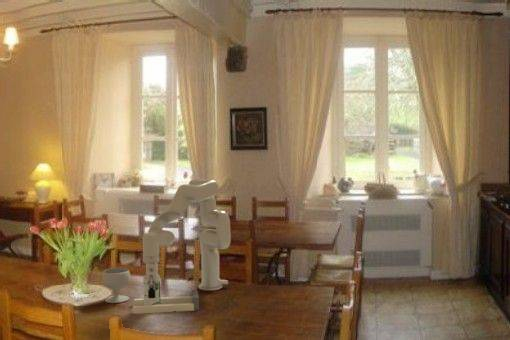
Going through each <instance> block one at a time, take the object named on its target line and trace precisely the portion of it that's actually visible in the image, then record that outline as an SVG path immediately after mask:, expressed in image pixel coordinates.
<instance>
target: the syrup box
mask: <svg viewBox="0 0 510 340" xmlns="http://www.w3.org/2000/svg"><path fill="white" fill-rule="evenodd" d="M142 283H143V284H142V285H143V287H142V289H143V290H142V291H143V298H144V305H160V304H161V298H162V297H161V275H160V274H158V283H157V284H156V283H155V298H148V290H149V283H150V282H149V283H148V284H147V277H146V274H145V275H143V276H142ZM153 283H154V282H153Z"/></svg>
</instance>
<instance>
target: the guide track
mask: <svg viewBox="0 0 510 340" xmlns="http://www.w3.org/2000/svg"><path fill="white" fill-rule="evenodd" d="M191 293H192V294H191V295H190V296H187V295H184V296H168V297H165V296H164V297H160V298H161V304H160V305H144V297H143V298H134V299H133V306H132V314H137V315H138V314H152V313H153V314H154V313H155V314H156V313H171V312H172V313H173V311H176V312H189V311H199V310H200V296H199V293H198V289H192V291H191Z"/></svg>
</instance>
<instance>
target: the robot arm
mask: <svg viewBox="0 0 510 340" xmlns="http://www.w3.org/2000/svg"><path fill="white" fill-rule="evenodd" d="M219 190H220V186H219V184H218V182H217V181H216V180H213V179H203V178H201V179H200V178H194V179H191V180H190V181H189V182H188V184H186V183H185V184H181V185H179V186H178V188H177V190H176V191H175V194H174V196H173V197H172V199H171V201H170V203H169V204H168V207H167V209H165V210H164V211H162V212H161V213H160V214H159V215H157V216H156V217H155V218H154V220H153V221H152V223H151V224H150V227H149V229H148V231H147V232H145V233H144V234H143V235H142V262H143V264H145V275H146V277H147V284H148V283H149V282H150V283H149V290H148V298H155V283H156V284H157V283H158V275H159V273H158V272H159V271H158V270H159V269H158V263H160V247H162V248H163V247H169V246H171V245H172V244H173V243H174V242H175V239H176V238H175V237H176V235H175V234H174V233H173V232H172V231H169V230H164V228H165V227H166V226H167V225H169V223H172V222H175V221H177V220H179V219H181V218H183V217H184V215H185V214H186V212H187V211H186V210H187V209H188V207H189V205H190V203H199V207H200V208H199V211H200V222H201V225H202V226H203V227H206V229H203V230H201V232H200V233H199V236H198V238H199V245H200V253H201V258H200V259H201V260H200V261H201V265H200V266H201V283H200V284H199V285H198V289H199V290H202V291H207V292H208V291H209V292H210V291H218V290H221V289H222V288H223V285H228V284H229V280H226V279H221V278H220V252H219V249H220V250H226V249H228V248H229V247H230V245H231V240H232V239H231V237H232V234H231V220H230V216H229V214H228V213H227V212H226V211H224V210H218V209H217V202H216V198H215V197H216V195H217V194H218V193H219ZM153 282H154V283H153Z"/></svg>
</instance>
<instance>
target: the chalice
mask: <svg viewBox="0 0 510 340" xmlns="http://www.w3.org/2000/svg"><path fill="white" fill-rule="evenodd" d="M131 278H132V277H131V273H130V270H129V269H128V268H126V267H110V268H107V269H105V270H104V271H103V272H102V277H101V283H102V284H103V286H105V287H107V288H108V289H111V290H112V291H113V292H114V295H111V296H110V295H109V296H108V297H109V298H107V297H106V298H107V299H106V300H105V301H104V302H105V303H108V304H119V303H125V302H128V301H129V300H130V297H129V296H127V295H123V294H122V295H120V294H119V292H120V291H121V290H122V289H123V288H124V287H126V286H128V284H130V282H131Z"/></svg>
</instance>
